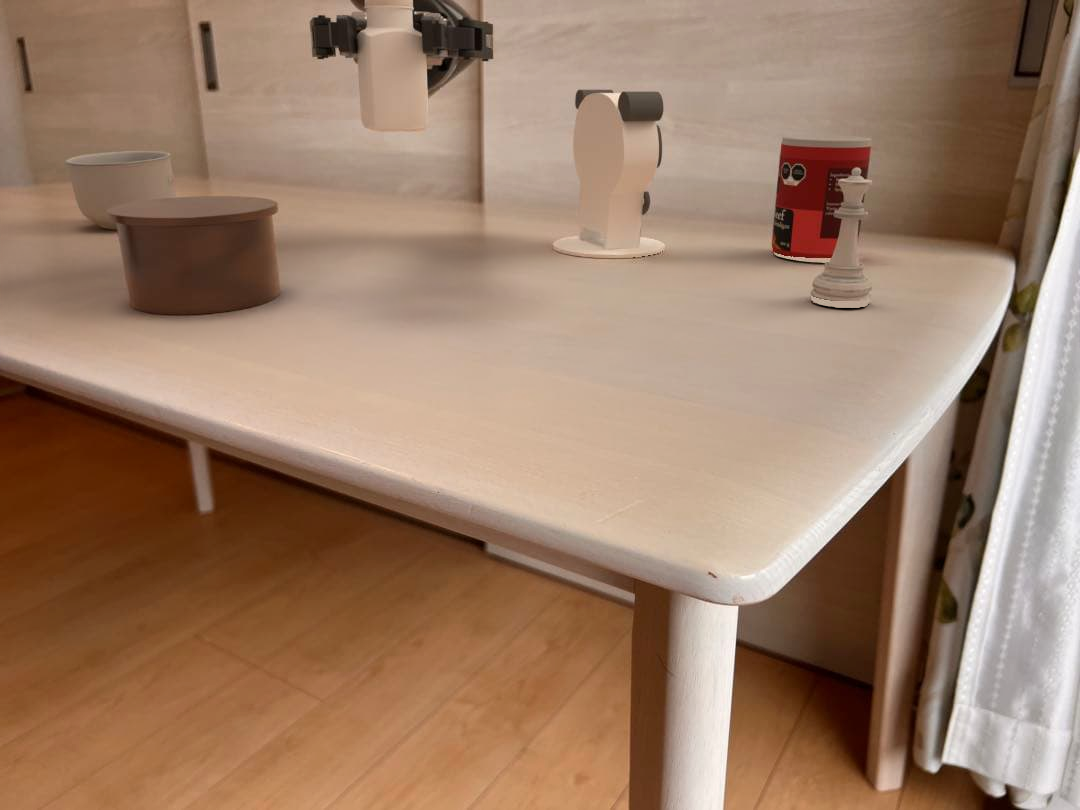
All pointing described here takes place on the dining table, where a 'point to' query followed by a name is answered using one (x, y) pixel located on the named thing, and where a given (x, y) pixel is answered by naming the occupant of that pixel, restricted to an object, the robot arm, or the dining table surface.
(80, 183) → the teacup
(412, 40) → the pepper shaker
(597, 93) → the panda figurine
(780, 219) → the canned food
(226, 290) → the walnut stand
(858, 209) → the chess piece
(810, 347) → the dining table surface
